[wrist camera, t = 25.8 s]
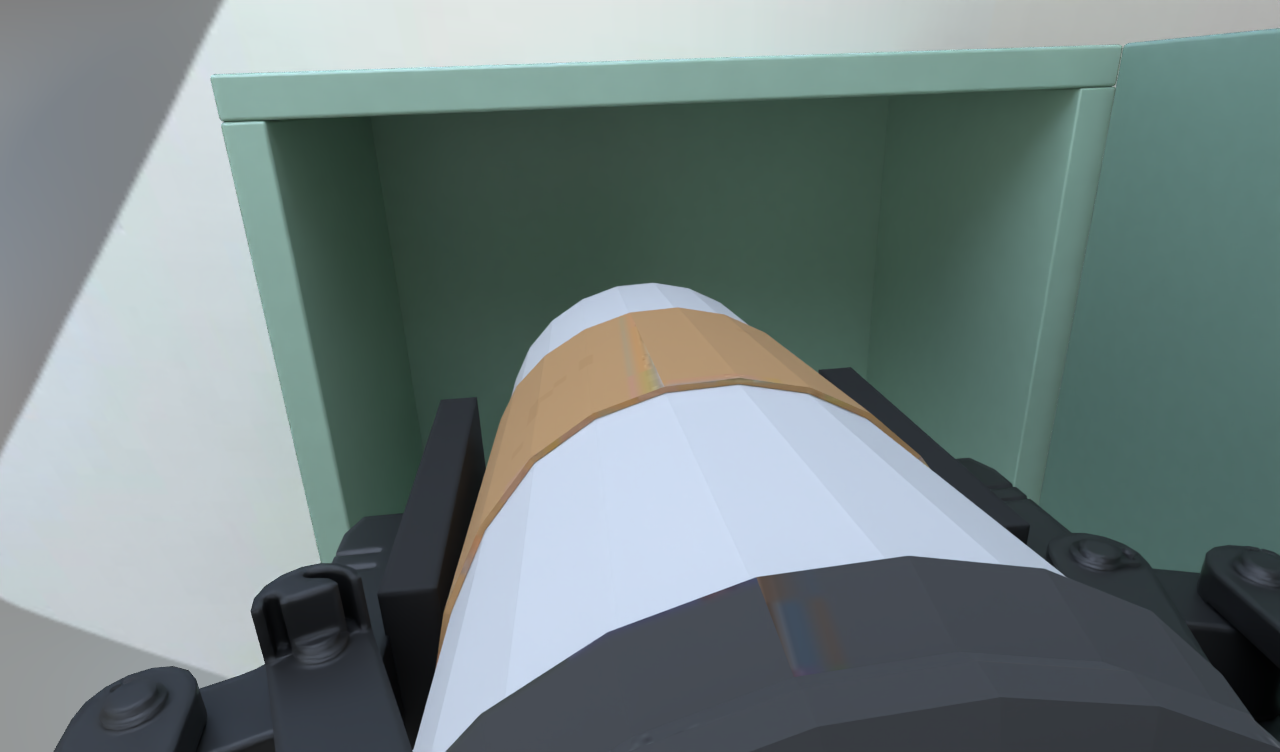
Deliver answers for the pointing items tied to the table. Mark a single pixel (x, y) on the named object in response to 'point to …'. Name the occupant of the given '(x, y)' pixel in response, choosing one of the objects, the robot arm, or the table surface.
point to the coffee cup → (769, 575)
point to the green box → (666, 232)
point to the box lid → (1179, 311)
